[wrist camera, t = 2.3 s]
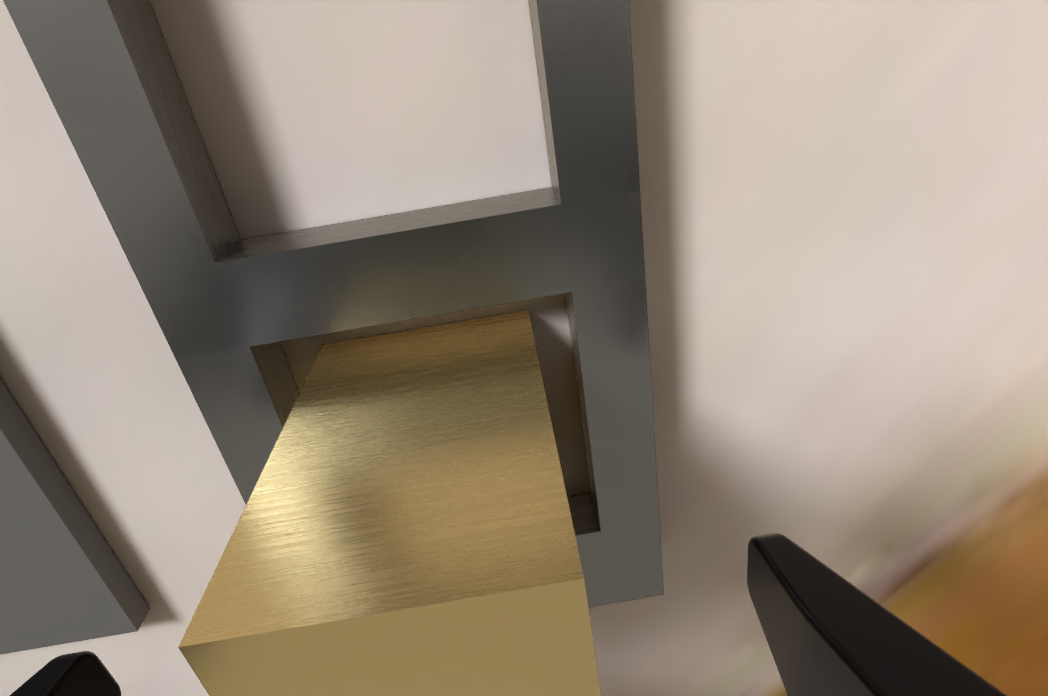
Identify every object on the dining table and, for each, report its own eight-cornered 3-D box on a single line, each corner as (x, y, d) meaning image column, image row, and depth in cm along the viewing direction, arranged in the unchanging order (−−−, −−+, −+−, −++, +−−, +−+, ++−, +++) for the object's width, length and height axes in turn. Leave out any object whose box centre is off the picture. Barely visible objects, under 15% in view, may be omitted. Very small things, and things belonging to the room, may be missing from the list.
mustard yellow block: (554, 471, 14) (616, 795, 8) (376, 501, 13) (307, 848, 8) (528, 309, 12) (583, 578, 6) (322, 344, 12) (178, 646, 6)
